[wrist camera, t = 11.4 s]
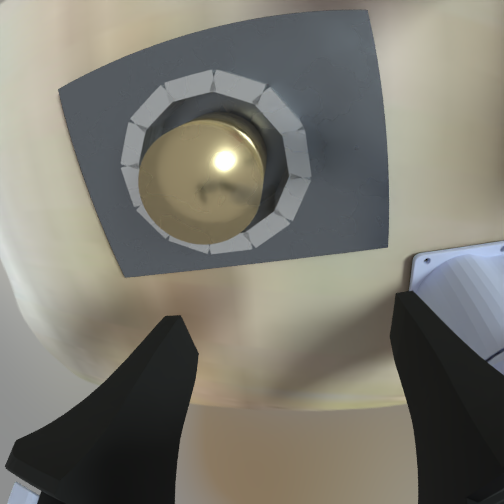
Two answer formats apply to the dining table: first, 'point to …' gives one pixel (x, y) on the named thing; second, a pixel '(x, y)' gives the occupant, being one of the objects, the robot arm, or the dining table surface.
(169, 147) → the cylinder
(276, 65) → the socket plate
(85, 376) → the dining table surface
